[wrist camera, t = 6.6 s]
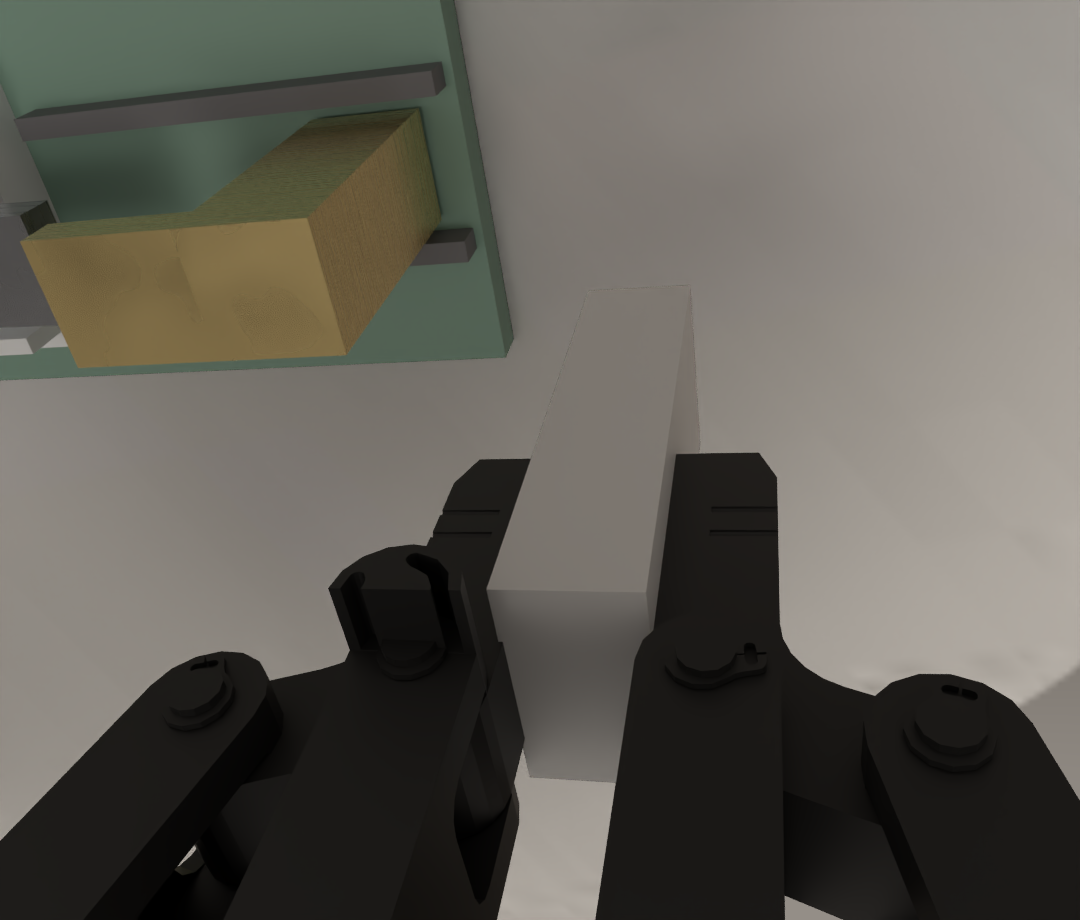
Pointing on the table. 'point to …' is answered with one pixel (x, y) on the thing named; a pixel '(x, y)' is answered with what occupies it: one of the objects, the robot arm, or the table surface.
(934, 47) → the table surface
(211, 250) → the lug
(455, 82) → the board
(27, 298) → the strap
